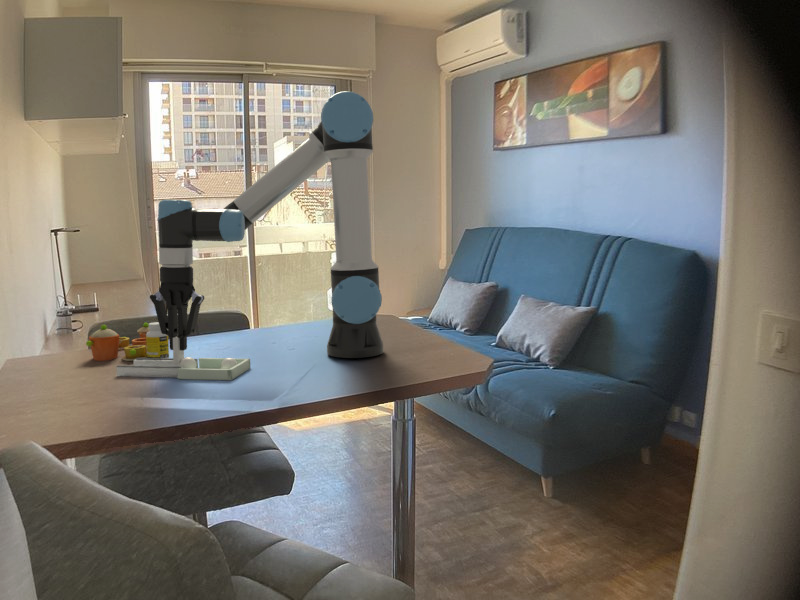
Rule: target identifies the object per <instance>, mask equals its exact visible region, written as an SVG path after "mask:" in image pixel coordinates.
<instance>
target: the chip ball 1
mask: <svg viewBox="0 0 800 600" xmlns="http://www.w3.org/2000/svg"><path fill="white" fill-rule="evenodd" d="M194 359H195V358H193V357H191V356H187V357H184V359H182V361H181V362H180V367H184V368H192V369H196V361H195V360H194Z"/></svg>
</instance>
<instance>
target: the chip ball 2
mask: <svg viewBox="0 0 800 600" xmlns="http://www.w3.org/2000/svg"><path fill="white" fill-rule="evenodd" d="M225 358H226V357H225ZM235 359H236V358H234V357H227V358H226V359H224V360H223V361H222V363H221V369H230V368H232V367H234V366H235V365H237V362H236V360H235Z"/></svg>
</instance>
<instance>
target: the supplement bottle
mask: <svg viewBox="0 0 800 600" xmlns="http://www.w3.org/2000/svg"><path fill="white" fill-rule="evenodd" d="M148 324H149V326H148V327H149V329H150V331H149V332H147V334H146V341H147V358H170V357H169V356H170V351H169V349H170V344H169V336H168V335H166V334H162V333H161V329H160V325H159V321H158V322H156V321H154V322H150V323H148Z"/></svg>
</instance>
